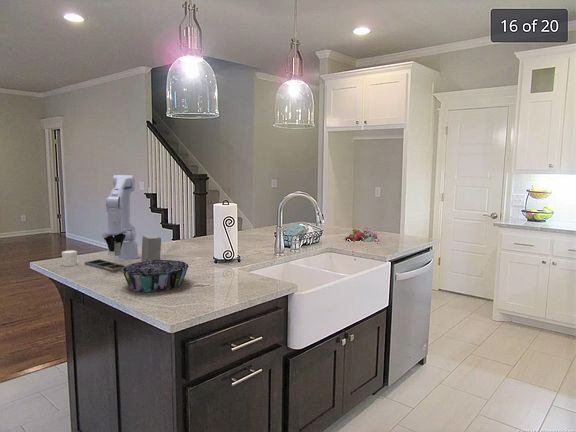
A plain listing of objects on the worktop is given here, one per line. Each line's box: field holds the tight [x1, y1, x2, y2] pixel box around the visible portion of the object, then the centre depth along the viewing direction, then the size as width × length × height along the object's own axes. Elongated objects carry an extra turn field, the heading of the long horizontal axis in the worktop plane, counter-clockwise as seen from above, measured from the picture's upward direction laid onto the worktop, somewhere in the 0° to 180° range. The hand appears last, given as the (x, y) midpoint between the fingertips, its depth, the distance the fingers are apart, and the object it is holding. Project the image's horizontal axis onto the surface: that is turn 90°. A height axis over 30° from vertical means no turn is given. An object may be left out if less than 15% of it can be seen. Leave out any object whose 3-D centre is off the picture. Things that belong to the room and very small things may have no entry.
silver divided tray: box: [84, 258, 126, 274], centre depth 205 cm, size 8×24×2 cm, turn 56°
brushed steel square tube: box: [107, 242, 121, 257], centre depth 200 cm, size 4×4×6 cm
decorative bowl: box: [121, 258, 190, 294], centre depth 178 cm, size 26×28×10 cm
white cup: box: [61, 249, 78, 267], centre depth 206 cm, size 7×7×7 cm
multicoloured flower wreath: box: [344, 227, 379, 242], centre depth 295 cm, size 25×24×9 cm
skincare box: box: [140, 234, 162, 262], centre depth 205 cm, size 8×7×16 cm
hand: (115, 250), depth 200 cm, fingers closed on brushed steel square tube, 4 cm apart
